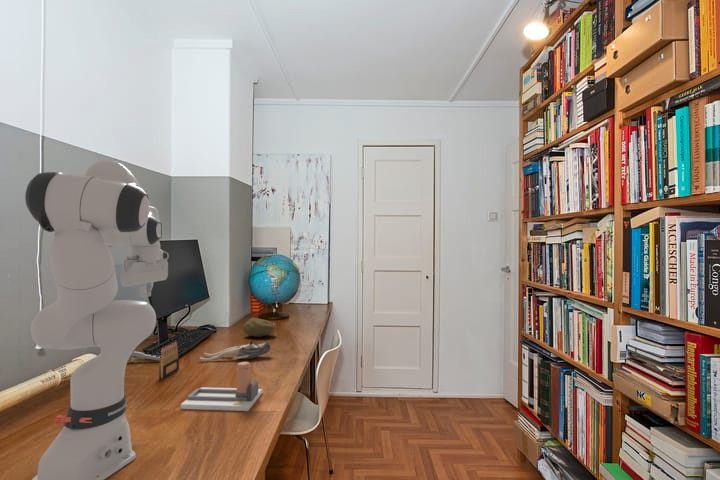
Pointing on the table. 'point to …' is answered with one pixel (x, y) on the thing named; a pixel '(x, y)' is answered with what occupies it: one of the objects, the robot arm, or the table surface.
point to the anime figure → (241, 352)
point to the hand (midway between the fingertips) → (145, 296)
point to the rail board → (222, 399)
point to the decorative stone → (258, 327)
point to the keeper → (243, 378)
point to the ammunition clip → (168, 361)
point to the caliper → (142, 356)
